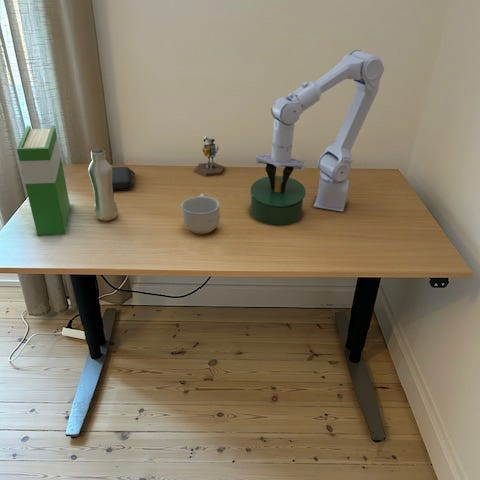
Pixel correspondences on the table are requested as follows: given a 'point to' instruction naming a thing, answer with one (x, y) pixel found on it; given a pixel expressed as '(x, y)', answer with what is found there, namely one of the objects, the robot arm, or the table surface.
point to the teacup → (201, 214)
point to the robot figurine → (209, 168)
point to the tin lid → (278, 192)
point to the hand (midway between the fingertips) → (277, 189)
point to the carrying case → (122, 178)
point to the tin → (275, 213)
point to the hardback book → (44, 180)
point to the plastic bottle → (102, 186)
